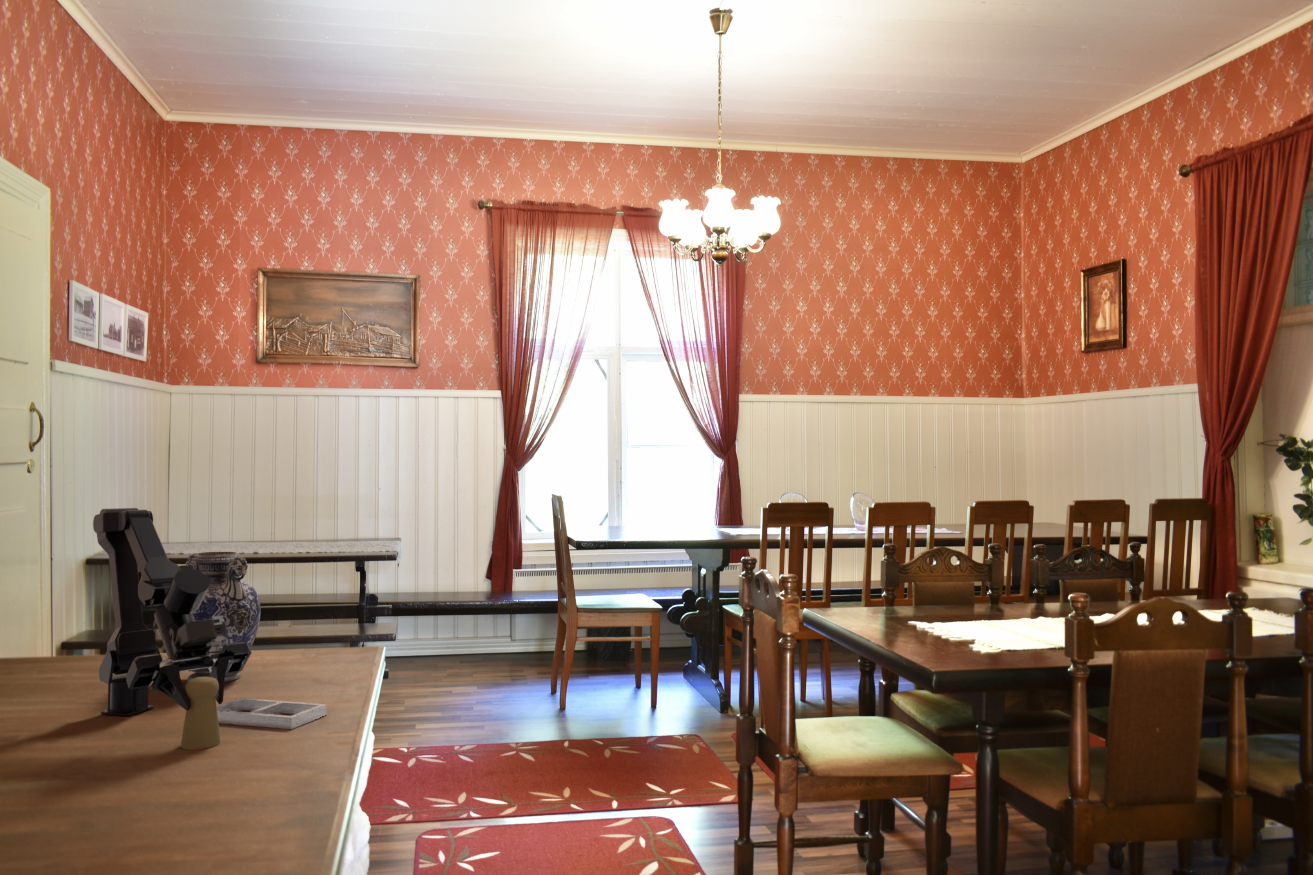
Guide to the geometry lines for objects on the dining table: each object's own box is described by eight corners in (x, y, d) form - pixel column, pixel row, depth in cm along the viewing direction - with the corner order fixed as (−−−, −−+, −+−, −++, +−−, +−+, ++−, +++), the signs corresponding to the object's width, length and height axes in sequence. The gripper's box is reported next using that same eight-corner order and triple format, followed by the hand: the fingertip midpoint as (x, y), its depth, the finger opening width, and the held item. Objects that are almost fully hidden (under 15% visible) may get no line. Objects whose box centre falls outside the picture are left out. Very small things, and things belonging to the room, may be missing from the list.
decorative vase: (144, 681, 203) (149, 552, 204) (222, 667, 218) (226, 548, 220) (202, 693, 191) (206, 557, 193) (280, 678, 207) (284, 552, 209)
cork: (204, 750, 151) (205, 682, 152) (172, 748, 152) (173, 680, 153) (228, 739, 157) (229, 674, 158) (197, 738, 158) (198, 673, 159)
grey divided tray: (203, 721, 169) (203, 710, 169) (242, 708, 179) (242, 697, 179) (291, 729, 164) (291, 717, 164) (326, 714, 173) (326, 704, 174)
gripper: (134, 607, 151) (159, 685, 144) (247, 596, 165) (276, 666, 158) (115, 650, 156) (139, 728, 149) (227, 635, 170) (254, 706, 163)
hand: (205, 705), depth 154 cm, fingers closed on cork, 5 cm apart
